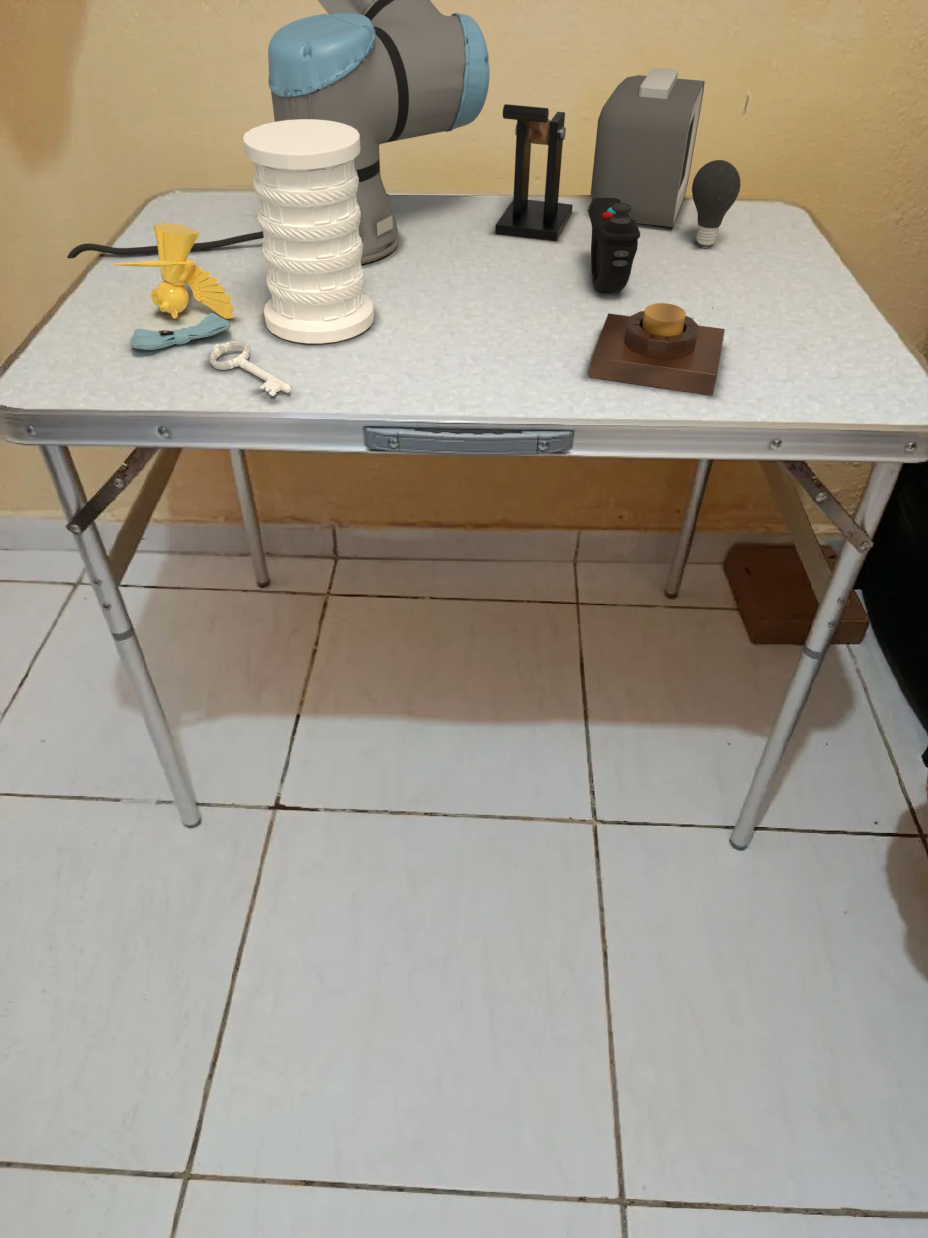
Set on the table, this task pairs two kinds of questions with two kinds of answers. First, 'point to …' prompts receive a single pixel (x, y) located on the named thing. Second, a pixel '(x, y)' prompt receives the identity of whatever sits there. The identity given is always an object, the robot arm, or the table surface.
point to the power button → (663, 319)
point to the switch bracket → (547, 214)
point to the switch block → (658, 355)
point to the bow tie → (178, 334)
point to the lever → (531, 121)
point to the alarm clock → (648, 144)
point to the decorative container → (310, 229)
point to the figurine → (182, 273)
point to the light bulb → (714, 197)
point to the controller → (612, 243)
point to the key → (247, 366)
